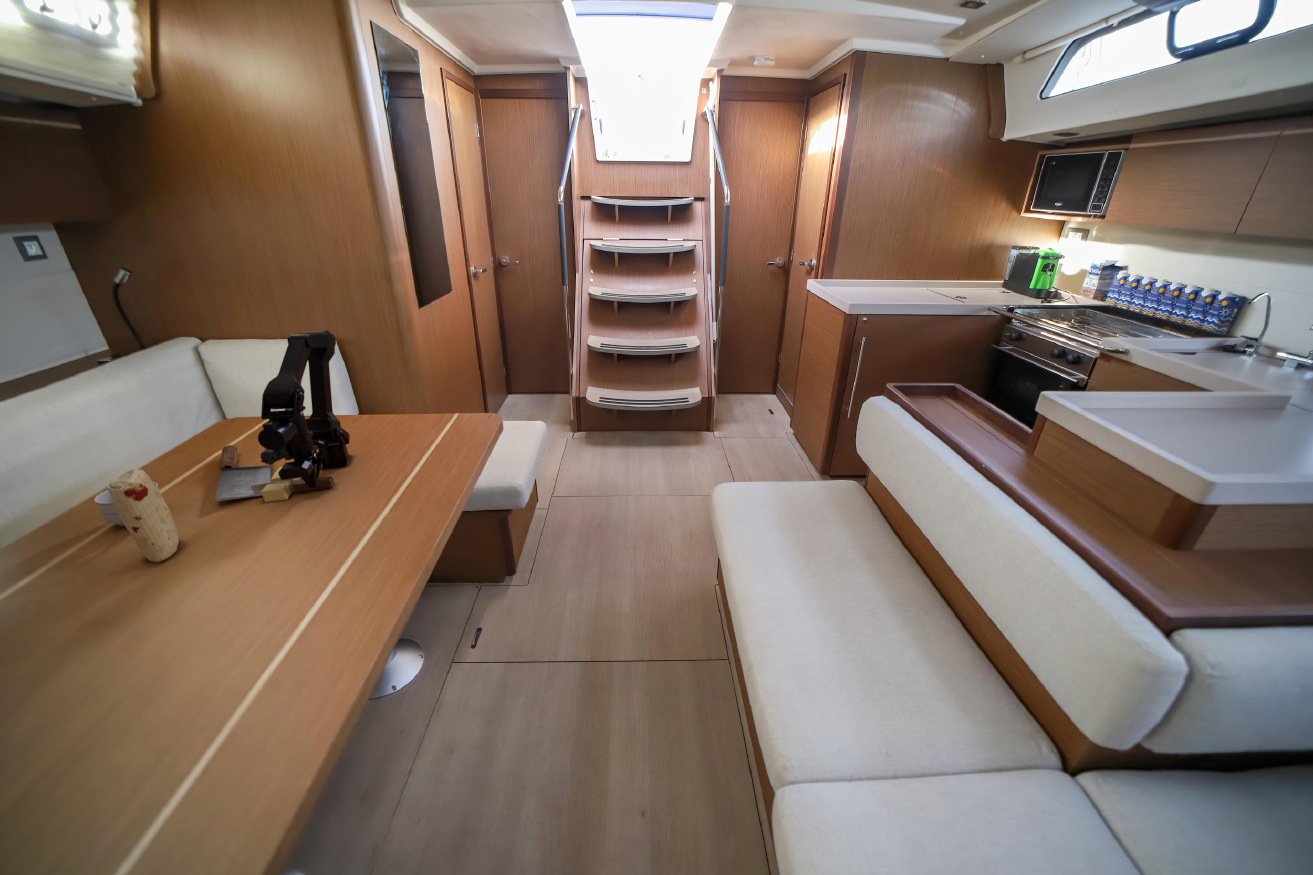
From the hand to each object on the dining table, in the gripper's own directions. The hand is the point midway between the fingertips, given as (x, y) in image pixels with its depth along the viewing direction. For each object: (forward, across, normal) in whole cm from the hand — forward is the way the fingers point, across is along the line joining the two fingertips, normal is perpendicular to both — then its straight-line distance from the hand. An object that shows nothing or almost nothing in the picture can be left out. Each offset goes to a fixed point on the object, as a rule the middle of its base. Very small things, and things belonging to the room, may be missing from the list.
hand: (313, 484), depth 134 cm
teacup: (+2, +5, -36) cm, 36 cm away
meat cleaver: (+2, -14, -21) cm, 26 cm away
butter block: (+1, -6, -8) cm, 10 cm away
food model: (+2, +20, -24) cm, 32 cm away
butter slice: (+1, +2, -8) cm, 8 cm away
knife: (+1, 0, -5) cm, 5 cm away
